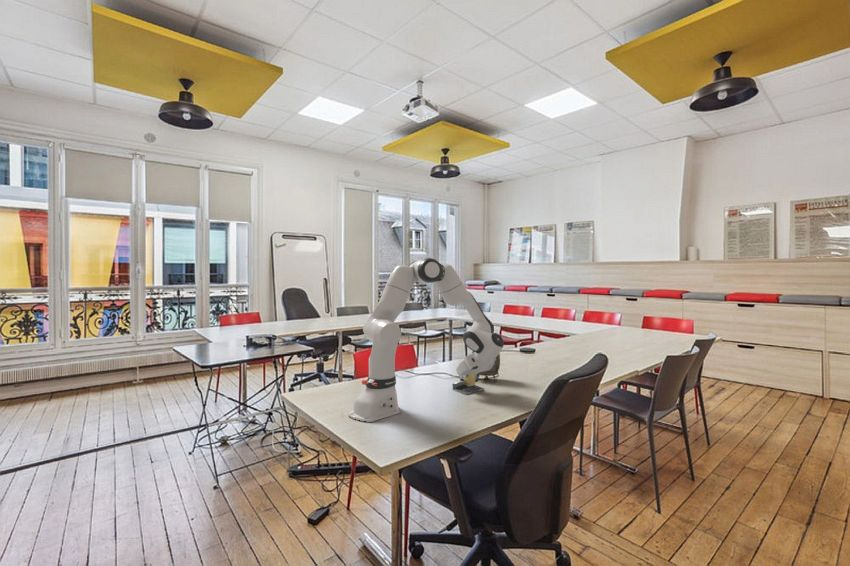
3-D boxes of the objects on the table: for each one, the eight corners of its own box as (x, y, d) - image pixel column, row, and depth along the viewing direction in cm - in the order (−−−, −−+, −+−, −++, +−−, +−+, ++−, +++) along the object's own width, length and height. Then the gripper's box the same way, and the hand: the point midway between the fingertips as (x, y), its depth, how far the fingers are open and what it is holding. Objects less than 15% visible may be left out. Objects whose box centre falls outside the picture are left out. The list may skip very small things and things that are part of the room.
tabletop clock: (471, 381, 211) (471, 334, 211) (474, 376, 220) (473, 332, 219) (498, 383, 207) (498, 335, 206) (500, 378, 216) (500, 333, 215)
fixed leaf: (484, 390, 195) (484, 383, 194) (465, 394, 188) (465, 387, 188) (471, 385, 203) (471, 378, 203) (452, 389, 196) (452, 382, 196)
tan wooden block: (475, 385, 194) (475, 368, 194) (469, 386, 192) (468, 370, 192) (470, 383, 197) (469, 367, 197) (463, 384, 195) (463, 368, 195)
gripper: (494, 351, 194) (481, 367, 203) (462, 356, 183) (449, 373, 191) (501, 362, 191) (487, 377, 199) (468, 368, 179) (455, 384, 188)
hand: (468, 375), depth 195 cm, fingers closed on tan wooden block, 4 cm apart
